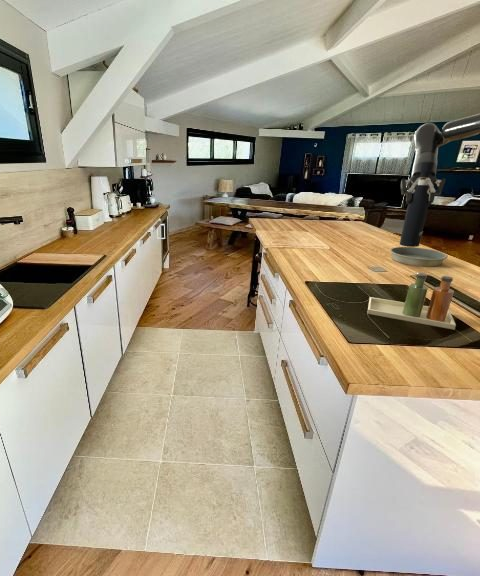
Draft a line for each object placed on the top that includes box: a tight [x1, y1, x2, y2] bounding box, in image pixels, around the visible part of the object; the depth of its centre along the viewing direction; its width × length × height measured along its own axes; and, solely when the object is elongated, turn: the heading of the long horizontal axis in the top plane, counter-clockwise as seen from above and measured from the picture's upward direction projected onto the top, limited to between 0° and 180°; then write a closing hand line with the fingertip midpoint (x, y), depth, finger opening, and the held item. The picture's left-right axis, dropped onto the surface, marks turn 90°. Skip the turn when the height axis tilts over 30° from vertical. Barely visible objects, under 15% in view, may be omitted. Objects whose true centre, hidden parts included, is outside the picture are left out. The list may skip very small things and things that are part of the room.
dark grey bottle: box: [399, 162, 434, 248], centre depth 117 cm, size 6×6×30 cm
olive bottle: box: [402, 272, 429, 317], centre depth 101 cm, size 5×5×14 cm
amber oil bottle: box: [426, 275, 455, 322], centre depth 98 cm, size 5×5×14 cm
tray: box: [366, 296, 457, 330], centre depth 104 cm, size 23×12×2 cm, turn 60°
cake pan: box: [389, 246, 448, 268], centre depth 162 cm, size 25×25×4 cm
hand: (419, 202), depth 115 cm, fingers closed on dark grey bottle, 5 cm apart
